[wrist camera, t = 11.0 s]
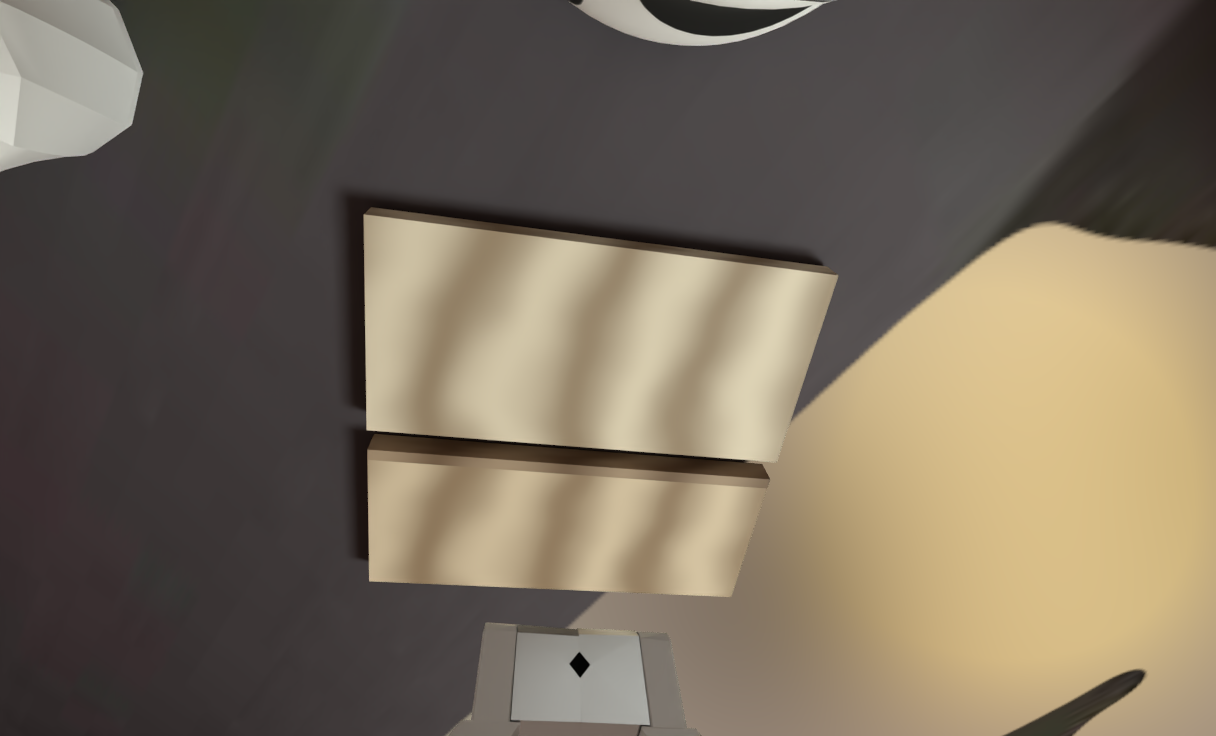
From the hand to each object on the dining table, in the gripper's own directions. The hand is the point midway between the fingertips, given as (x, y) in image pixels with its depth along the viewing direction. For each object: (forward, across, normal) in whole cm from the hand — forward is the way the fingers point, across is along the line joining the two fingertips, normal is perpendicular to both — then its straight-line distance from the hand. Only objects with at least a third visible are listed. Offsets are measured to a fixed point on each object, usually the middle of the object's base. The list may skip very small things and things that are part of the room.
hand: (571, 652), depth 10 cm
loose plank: (+25, -2, +6) cm, 26 cm away
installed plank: (+25, -2, +18) cm, 31 cm away
